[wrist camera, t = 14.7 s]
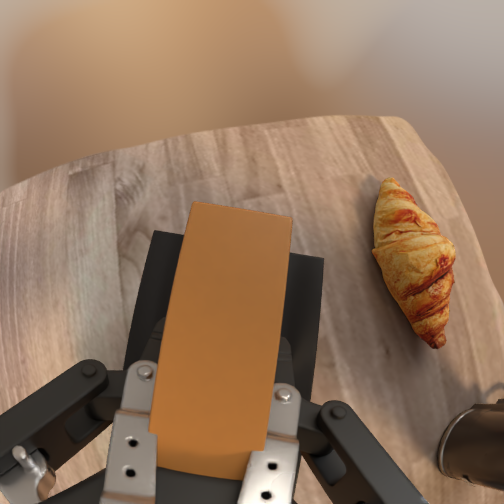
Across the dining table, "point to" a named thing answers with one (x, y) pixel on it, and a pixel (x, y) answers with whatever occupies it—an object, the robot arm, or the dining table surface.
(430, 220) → the croissant
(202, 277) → the orange slab
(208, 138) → the dining table surface
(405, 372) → the dining table surface
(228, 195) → the dining table surface
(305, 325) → the slot toaster
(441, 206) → the dining table surface
